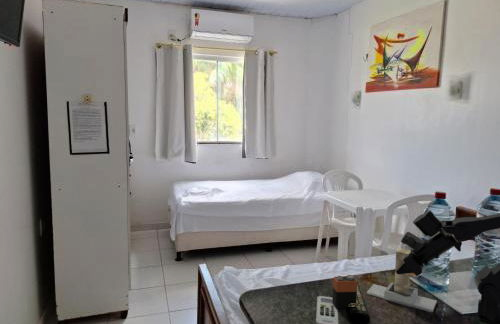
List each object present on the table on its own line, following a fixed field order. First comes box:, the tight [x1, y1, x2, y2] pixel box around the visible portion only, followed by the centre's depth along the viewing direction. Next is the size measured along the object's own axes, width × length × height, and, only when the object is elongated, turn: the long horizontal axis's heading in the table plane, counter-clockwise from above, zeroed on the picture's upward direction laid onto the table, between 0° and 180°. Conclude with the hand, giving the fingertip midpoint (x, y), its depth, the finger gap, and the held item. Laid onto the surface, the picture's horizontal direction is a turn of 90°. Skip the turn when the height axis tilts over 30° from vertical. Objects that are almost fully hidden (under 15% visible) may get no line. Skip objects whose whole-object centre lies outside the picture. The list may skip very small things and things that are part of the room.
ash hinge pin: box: [394, 247, 411, 294], centre depth 122 cm, size 4×4×14 cm
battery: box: [331, 274, 358, 309], centre depth 116 cm, size 4×7×10 cm, turn 95°
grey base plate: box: [366, 281, 437, 313], centre depth 122 cm, size 21×9×3 cm, turn 54°
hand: (398, 270), depth 123 cm, fingers closed on ash hinge pin, 4 cm apart
